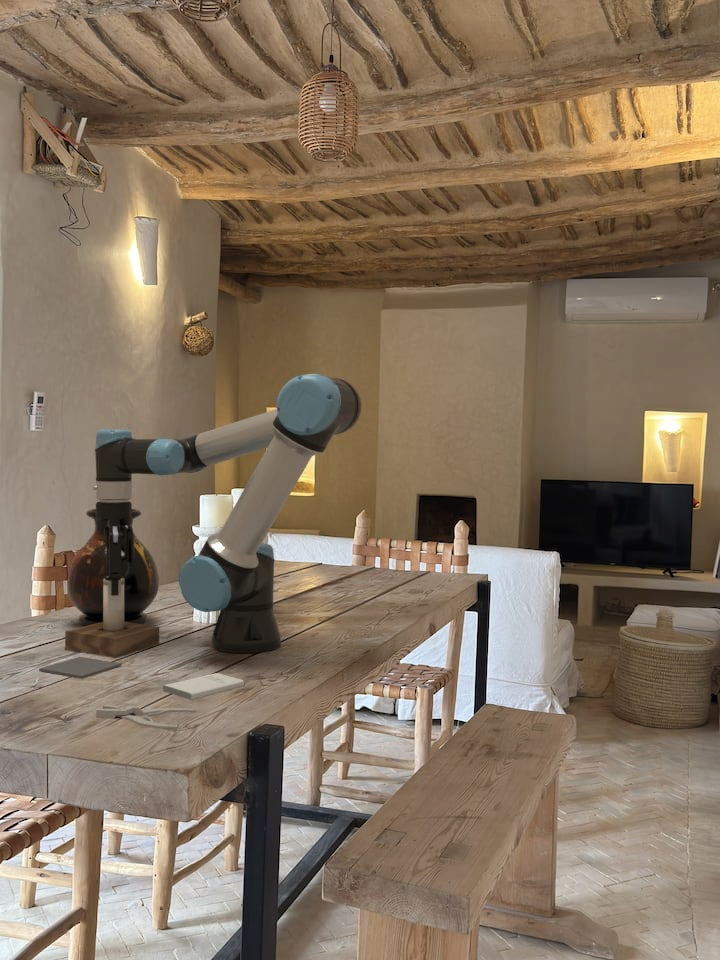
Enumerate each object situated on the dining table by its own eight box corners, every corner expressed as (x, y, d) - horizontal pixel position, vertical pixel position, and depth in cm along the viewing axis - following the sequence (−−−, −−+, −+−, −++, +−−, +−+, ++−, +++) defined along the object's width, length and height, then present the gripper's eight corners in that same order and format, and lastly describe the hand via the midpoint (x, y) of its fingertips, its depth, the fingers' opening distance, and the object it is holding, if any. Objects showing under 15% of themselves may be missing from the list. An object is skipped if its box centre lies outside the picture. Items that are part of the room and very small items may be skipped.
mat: (121, 665, 181) (121, 663, 181) (81, 678, 171) (81, 676, 171) (80, 659, 186) (80, 656, 186) (39, 671, 176) (39, 668, 176)
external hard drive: (162, 693, 164) (215, 680, 174) (191, 702, 159) (244, 688, 169) (162, 684, 164) (215, 671, 174) (191, 693, 159) (244, 679, 168)
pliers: (176, 721, 143) (86, 715, 145) (176, 731, 143) (86, 725, 145) (196, 703, 153) (112, 698, 155) (196, 713, 153) (111, 707, 155)
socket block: (159, 644, 200) (159, 626, 200) (115, 657, 188) (115, 638, 188) (110, 637, 207) (110, 619, 206) (65, 649, 194) (65, 631, 194)
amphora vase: (174, 627, 219) (175, 511, 217) (87, 638, 205) (88, 515, 204) (135, 612, 236) (136, 505, 234) (53, 622, 222) (53, 508, 221)
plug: (128, 632, 198) (128, 578, 197) (114, 636, 194) (114, 581, 193) (112, 630, 200) (112, 576, 199) (98, 634, 196) (98, 579, 195)
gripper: (94, 498, 203) (94, 601, 204) (97, 503, 186) (97, 616, 187) (128, 497, 205) (128, 600, 206) (134, 503, 189) (134, 614, 190)
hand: (113, 607), depth 197 cm, fingers closed on plug, 4 cm apart
